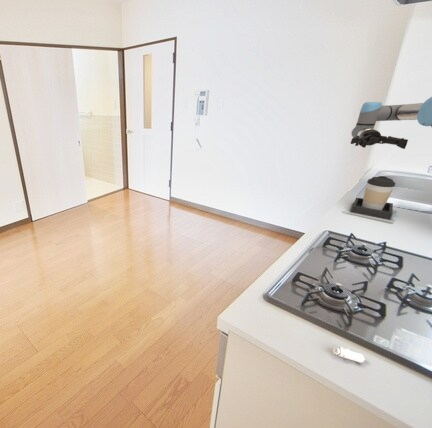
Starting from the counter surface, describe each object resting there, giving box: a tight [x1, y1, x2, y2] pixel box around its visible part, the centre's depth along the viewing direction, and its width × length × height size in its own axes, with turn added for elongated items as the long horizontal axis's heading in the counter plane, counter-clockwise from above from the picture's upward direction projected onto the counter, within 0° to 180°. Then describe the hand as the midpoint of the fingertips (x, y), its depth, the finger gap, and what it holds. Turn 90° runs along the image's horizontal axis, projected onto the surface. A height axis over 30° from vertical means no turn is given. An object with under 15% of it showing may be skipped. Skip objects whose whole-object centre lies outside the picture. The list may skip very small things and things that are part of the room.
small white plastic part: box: [332, 346, 366, 363], centre depth 62 cm, size 4×6×3 cm, turn 49°
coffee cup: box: [362, 175, 396, 210], centre depth 124 cm, size 9×9×15 cm
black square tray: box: [350, 196, 394, 220], centre depth 127 cm, size 13×13×3 cm
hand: (384, 145), depth 123 cm, fingers open, 13 cm apart
